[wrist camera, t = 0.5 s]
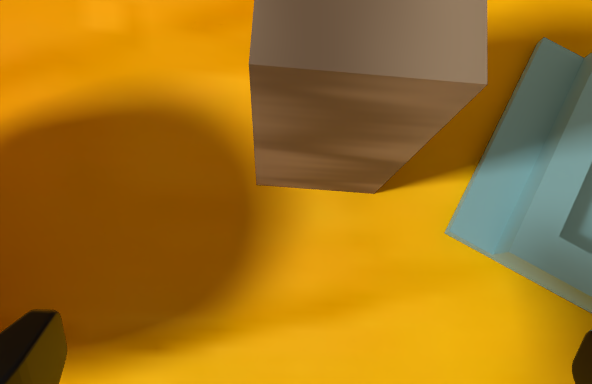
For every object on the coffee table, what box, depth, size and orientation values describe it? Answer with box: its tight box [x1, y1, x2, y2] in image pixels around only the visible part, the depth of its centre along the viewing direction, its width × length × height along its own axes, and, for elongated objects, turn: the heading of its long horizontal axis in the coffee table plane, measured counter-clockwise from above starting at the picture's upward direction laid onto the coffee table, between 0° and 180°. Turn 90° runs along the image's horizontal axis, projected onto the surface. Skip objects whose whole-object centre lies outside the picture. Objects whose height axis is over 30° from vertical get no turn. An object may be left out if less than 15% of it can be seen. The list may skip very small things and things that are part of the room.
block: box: [249, 0, 487, 194], centre depth 18 cm, size 5×5×12 cm
